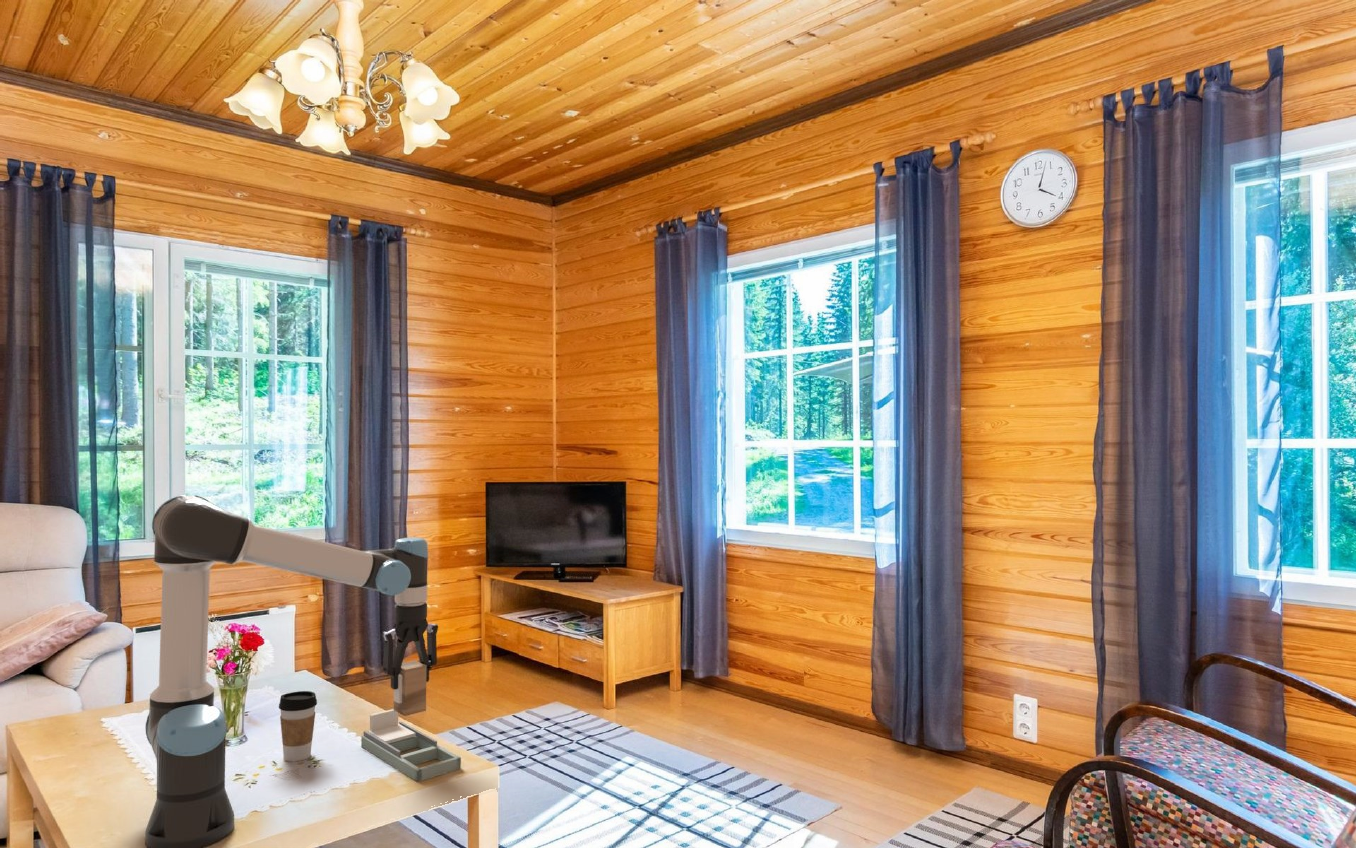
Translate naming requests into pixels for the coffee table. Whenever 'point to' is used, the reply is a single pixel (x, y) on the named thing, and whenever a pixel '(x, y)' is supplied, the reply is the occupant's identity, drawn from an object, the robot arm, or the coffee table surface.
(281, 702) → the coffee cup
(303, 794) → the coffee table surface
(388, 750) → the tray
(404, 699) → the block
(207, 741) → the robot arm
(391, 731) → the white l-shaped bracket
